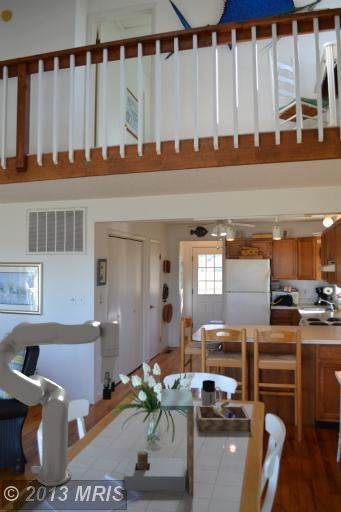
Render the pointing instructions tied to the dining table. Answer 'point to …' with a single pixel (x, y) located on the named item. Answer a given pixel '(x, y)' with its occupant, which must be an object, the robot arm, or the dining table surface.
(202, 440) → the dining table surface
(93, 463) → the dining table surface
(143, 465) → the peg
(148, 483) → the socket block
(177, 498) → the dining table surface
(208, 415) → the display tray
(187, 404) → the glass-topped wooden stand
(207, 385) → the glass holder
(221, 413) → the fish sculpture
